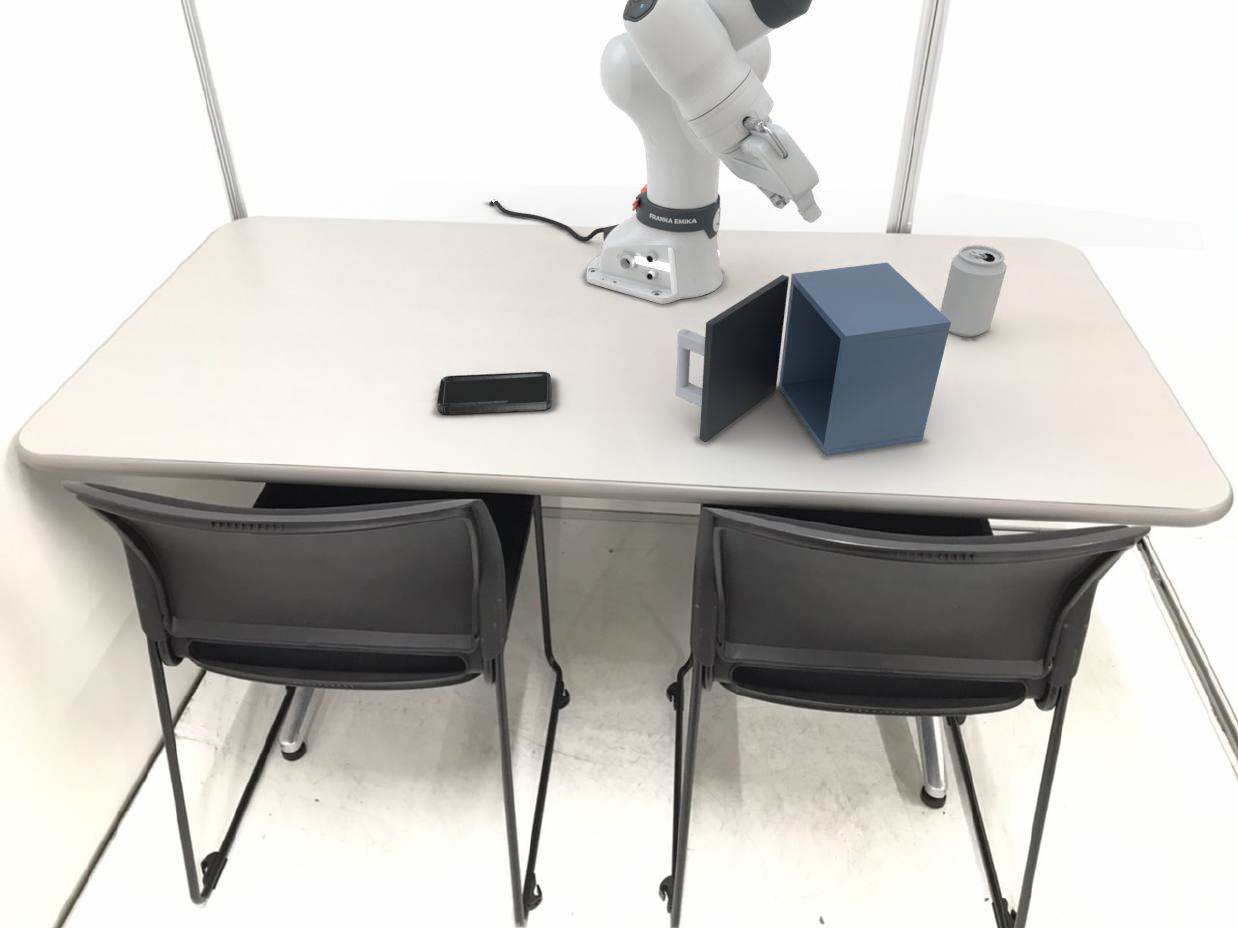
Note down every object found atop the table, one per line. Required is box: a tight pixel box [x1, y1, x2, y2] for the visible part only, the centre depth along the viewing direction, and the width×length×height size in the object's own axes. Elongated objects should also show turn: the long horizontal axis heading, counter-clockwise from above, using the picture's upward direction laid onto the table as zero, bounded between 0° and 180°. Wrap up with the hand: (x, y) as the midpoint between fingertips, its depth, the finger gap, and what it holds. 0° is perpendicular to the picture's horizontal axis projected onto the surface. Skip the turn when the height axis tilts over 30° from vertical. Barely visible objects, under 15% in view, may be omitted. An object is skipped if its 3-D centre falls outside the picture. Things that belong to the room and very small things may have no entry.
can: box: [939, 244, 1007, 338], centre depth 133 cm, size 8×8×12 cm
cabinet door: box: [675, 274, 790, 443], centre depth 115 cm, size 6×16×17 cm, turn 139°
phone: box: [436, 371, 552, 415], centre depth 123 cm, size 8×1×15 cm
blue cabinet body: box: [778, 262, 951, 457], centre depth 114 cm, size 13×16×17 cm
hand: (798, 211), depth 107 cm, fingers open, 8 cm apart
